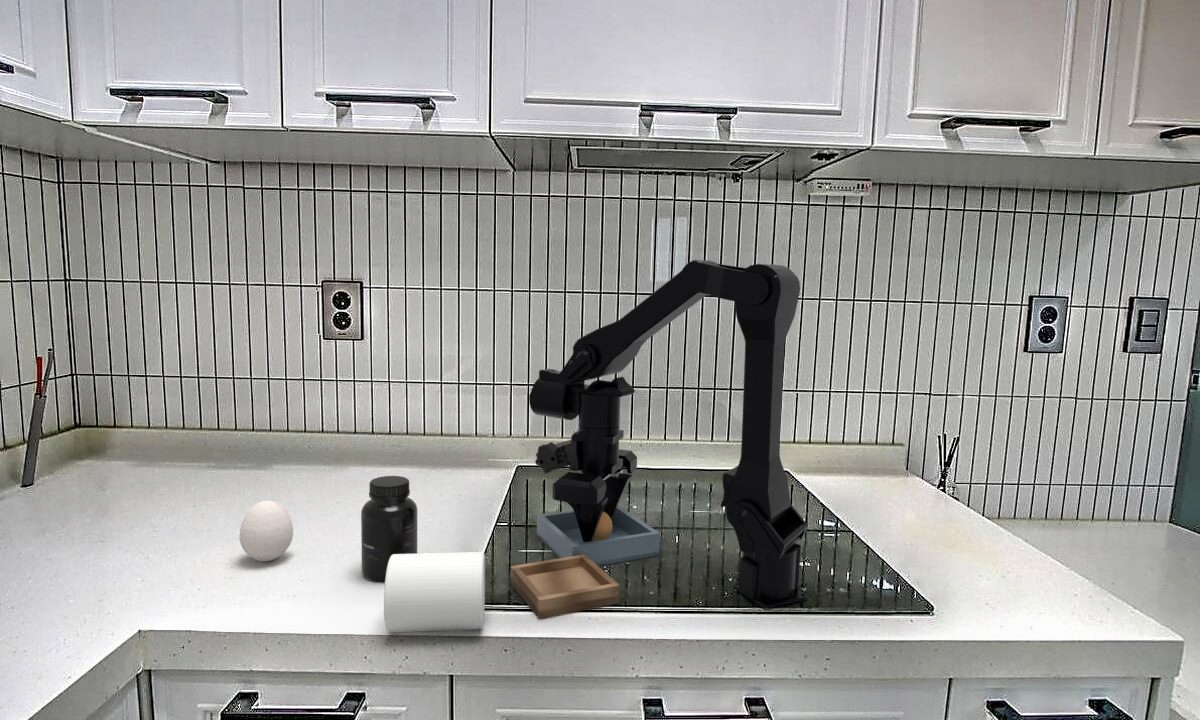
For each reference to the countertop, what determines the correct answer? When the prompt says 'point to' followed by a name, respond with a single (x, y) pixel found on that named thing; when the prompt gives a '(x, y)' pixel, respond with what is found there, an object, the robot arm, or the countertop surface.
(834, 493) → the countertop surface
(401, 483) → the supplement bottle
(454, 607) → the mug
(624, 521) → the dish
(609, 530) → the ball
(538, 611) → the tray
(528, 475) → the countertop surface
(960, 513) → the countertop surface
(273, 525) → the egg
